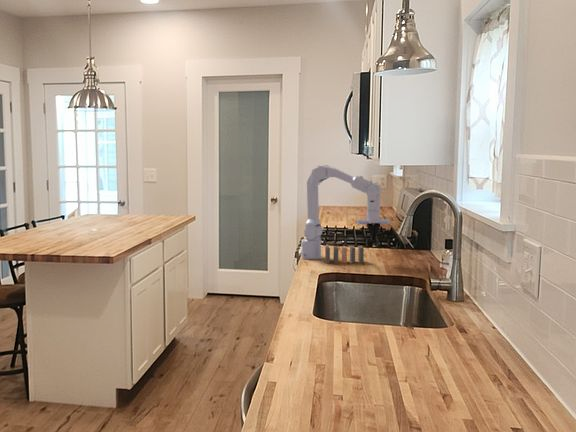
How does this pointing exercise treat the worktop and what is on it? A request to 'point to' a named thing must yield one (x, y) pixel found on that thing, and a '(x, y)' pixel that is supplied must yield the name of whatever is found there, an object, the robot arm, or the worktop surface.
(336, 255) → the charcoal tile
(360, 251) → the charcoal tile
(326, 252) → the charcoal tile
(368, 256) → the worktop surface
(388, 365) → the worktop surface
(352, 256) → the charcoal tile
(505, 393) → the worktop surface
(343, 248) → the brick tile
